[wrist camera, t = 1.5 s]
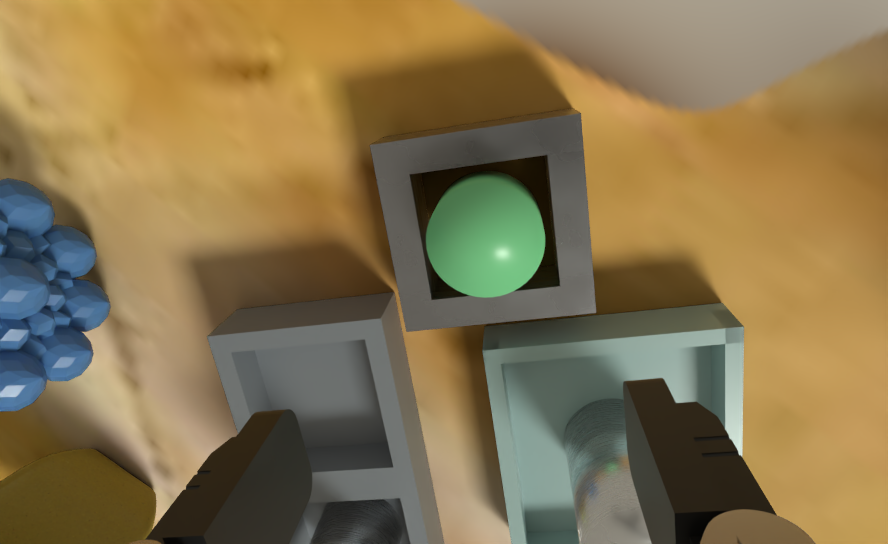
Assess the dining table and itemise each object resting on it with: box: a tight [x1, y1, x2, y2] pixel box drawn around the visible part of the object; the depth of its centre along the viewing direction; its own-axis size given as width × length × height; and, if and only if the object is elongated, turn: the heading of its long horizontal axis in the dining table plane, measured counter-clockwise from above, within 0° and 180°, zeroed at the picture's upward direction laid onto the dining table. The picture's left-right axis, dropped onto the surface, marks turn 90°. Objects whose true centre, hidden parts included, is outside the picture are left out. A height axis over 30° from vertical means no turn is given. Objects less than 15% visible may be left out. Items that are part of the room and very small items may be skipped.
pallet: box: [207, 292, 444, 544], centre depth 32 cm, size 19×9×3 cm, turn 9°
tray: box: [482, 303, 744, 544], centre depth 30 cm, size 12×14×3 cm
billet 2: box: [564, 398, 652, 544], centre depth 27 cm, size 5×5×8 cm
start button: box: [426, 171, 545, 298], centre depth 25 cm, size 5×5×3 cm
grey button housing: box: [370, 108, 596, 332], centre depth 27 cm, size 9×9×3 cm
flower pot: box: [0, 448, 156, 544], centre depth 33 cm, size 9×9×9 cm
